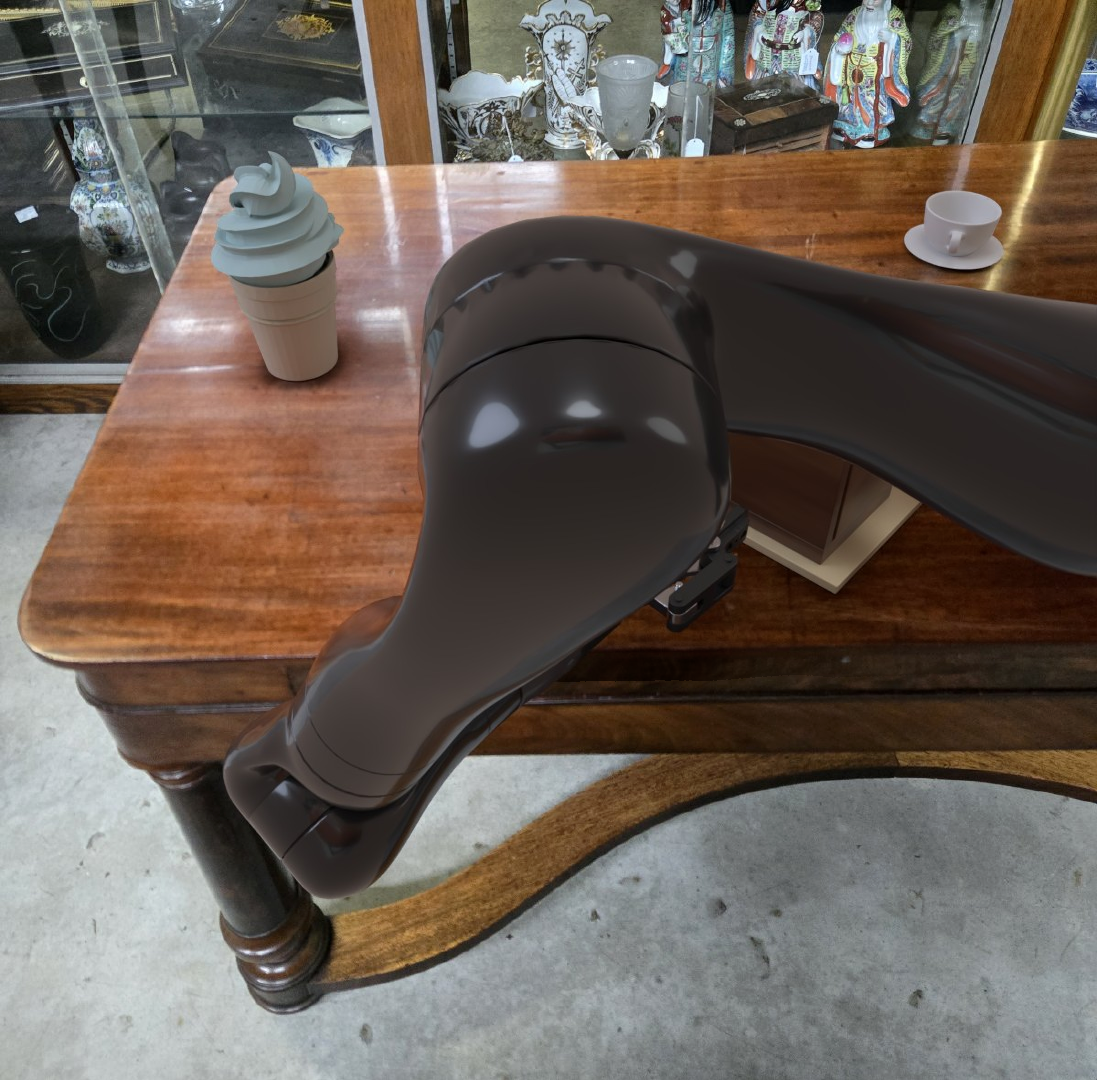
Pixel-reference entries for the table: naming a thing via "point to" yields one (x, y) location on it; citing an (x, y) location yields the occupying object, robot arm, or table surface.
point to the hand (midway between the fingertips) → (691, 488)
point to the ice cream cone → (282, 267)
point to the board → (843, 544)
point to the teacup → (957, 231)
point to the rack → (801, 494)
